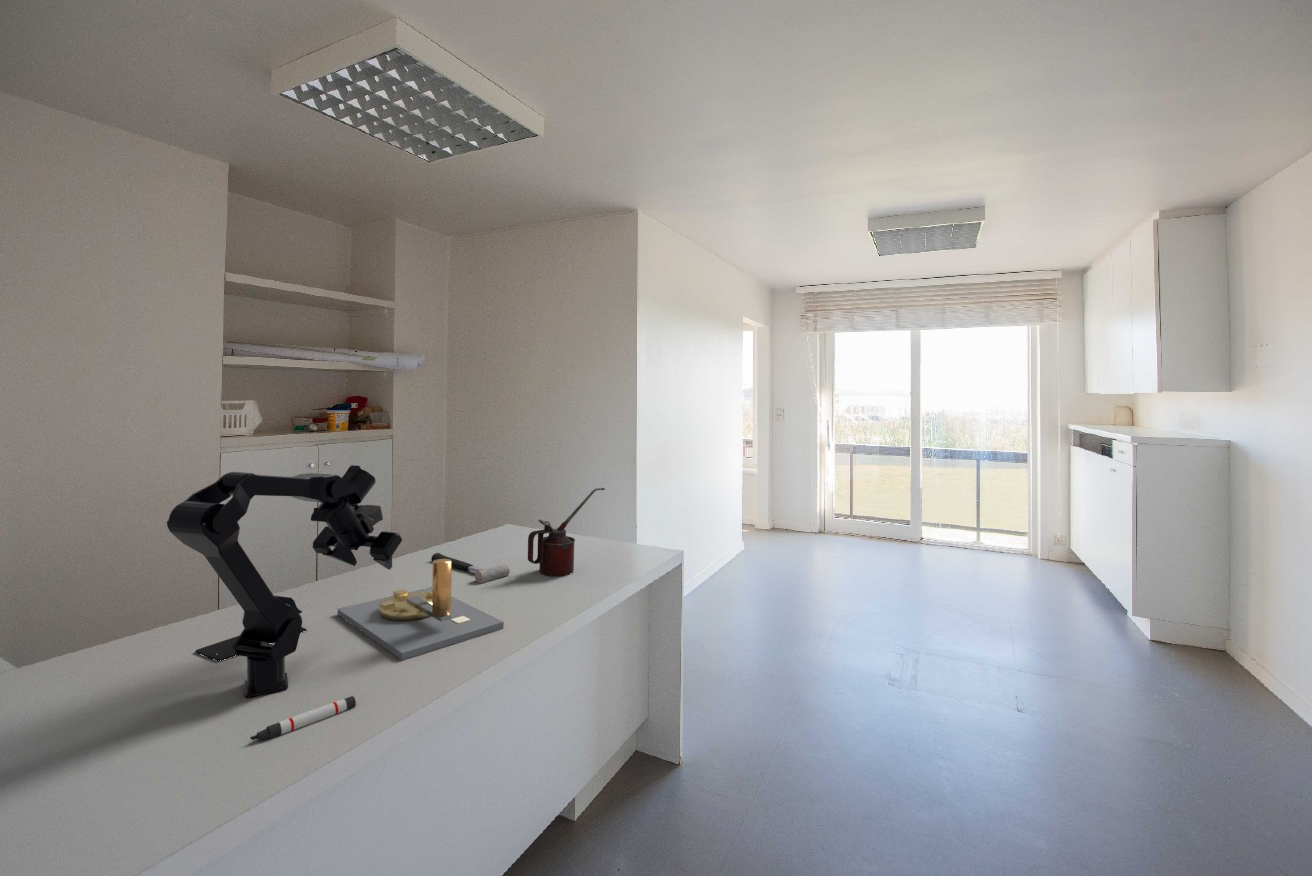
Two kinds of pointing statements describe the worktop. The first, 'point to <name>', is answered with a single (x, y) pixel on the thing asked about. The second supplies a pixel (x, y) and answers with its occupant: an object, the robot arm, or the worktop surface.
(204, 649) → the cell phone
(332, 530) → the robot arm
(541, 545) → the oil can
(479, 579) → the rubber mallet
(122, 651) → the worktop surface
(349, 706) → the marker
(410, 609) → the brass wheel crank mechanism
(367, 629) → the grey rectangular board
